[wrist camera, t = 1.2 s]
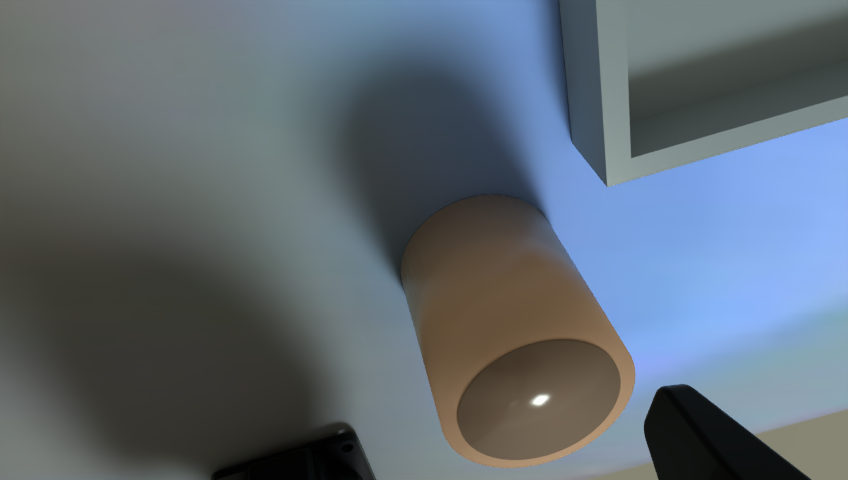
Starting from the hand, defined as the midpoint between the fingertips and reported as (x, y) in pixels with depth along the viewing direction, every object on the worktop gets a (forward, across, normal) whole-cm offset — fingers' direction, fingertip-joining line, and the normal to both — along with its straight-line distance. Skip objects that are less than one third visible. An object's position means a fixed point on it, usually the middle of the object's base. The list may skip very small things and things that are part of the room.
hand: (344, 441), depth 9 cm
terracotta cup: (+14, -6, +9) cm, 17 cm away
